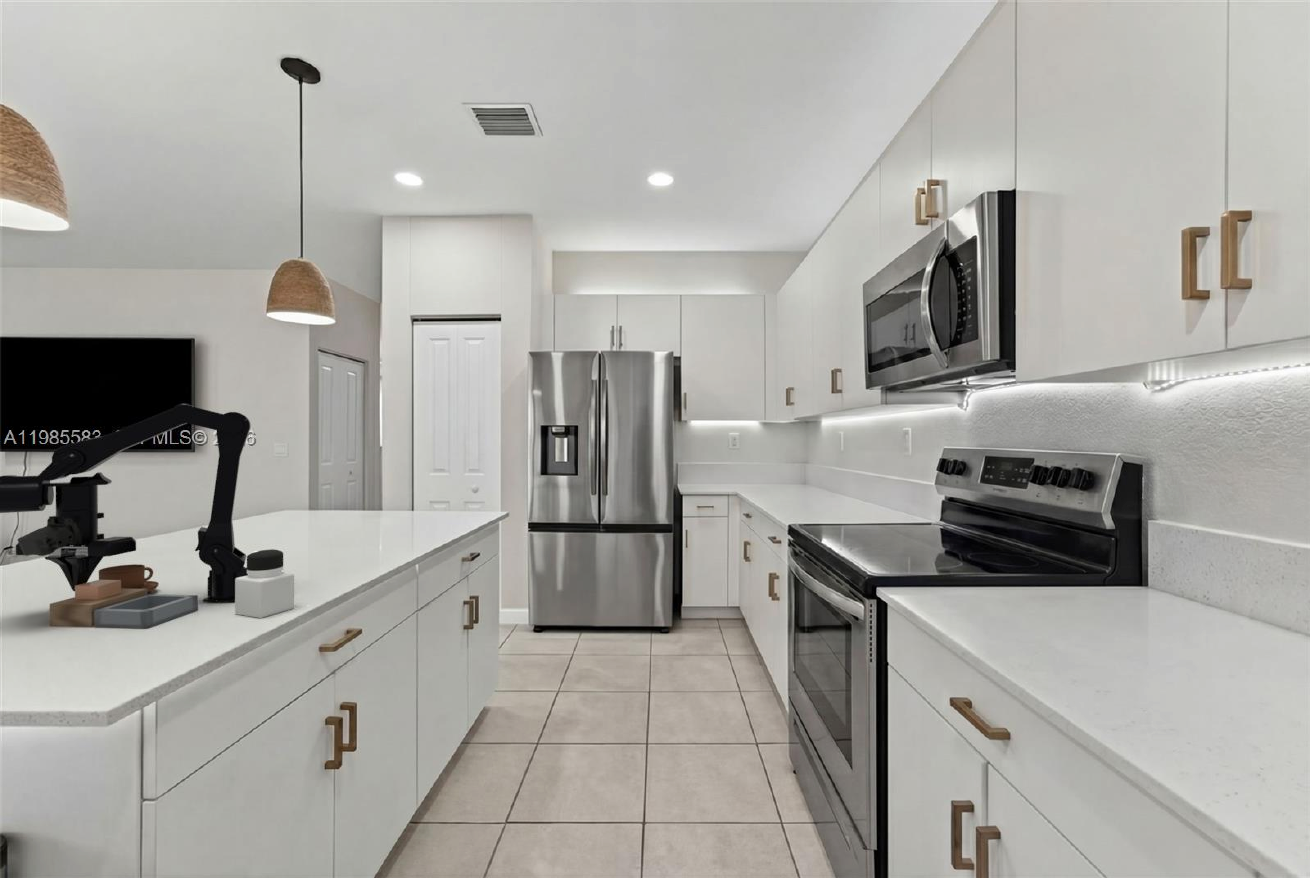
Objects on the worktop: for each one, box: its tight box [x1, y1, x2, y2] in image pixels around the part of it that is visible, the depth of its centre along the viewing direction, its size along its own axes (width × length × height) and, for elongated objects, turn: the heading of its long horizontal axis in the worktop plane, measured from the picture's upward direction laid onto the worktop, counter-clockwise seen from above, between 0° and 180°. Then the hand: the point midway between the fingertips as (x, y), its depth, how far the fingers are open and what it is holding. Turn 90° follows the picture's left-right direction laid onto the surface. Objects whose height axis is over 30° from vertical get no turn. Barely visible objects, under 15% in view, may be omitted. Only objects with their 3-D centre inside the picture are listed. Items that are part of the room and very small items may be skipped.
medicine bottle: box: [234, 548, 295, 619], centre depth 116 cm, size 7×7×12 cm
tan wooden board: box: [49, 588, 149, 628], centre depth 111 cm, size 8×11×4 cm
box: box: [93, 593, 199, 630], centre depth 111 cm, size 10×11×3 cm
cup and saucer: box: [98, 563, 159, 594], centre depth 126 cm, size 12×12×6 cm
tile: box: [74, 579, 121, 600], centre depth 111 cm, size 4×4×2 cm
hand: (77, 590), depth 112 cm, fingers closed
